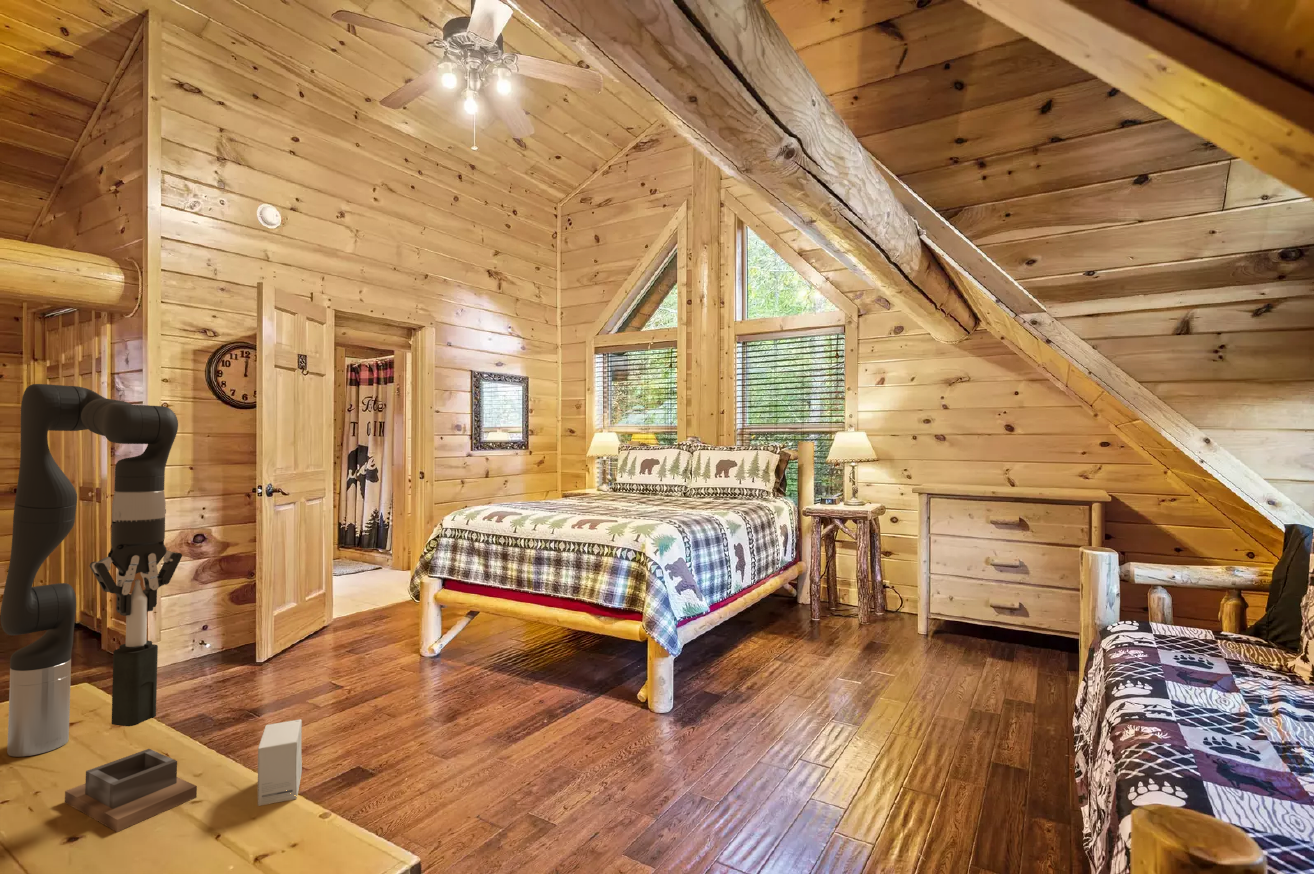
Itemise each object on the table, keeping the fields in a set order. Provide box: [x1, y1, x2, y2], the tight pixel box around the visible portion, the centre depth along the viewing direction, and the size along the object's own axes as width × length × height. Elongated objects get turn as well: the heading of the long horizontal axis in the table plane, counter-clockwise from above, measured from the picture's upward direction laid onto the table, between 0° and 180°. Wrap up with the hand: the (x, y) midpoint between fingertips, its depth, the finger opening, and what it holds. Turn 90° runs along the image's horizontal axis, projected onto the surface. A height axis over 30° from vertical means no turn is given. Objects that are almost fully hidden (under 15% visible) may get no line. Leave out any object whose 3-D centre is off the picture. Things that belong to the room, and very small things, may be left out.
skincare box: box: [257, 718, 303, 807], centre depth 121 cm, size 10×6×10 cm, turn 24°
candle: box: [111, 578, 159, 727], centre depth 116 cm, size 5×5×25 cm
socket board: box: [64, 748, 198, 833], centre depth 116 cm, size 18×12×6 cm, turn 63°
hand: (136, 612), depth 116 cm, fingers closed on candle, 3 cm apart
